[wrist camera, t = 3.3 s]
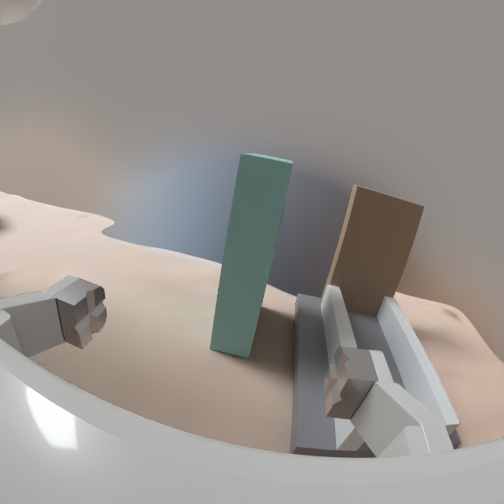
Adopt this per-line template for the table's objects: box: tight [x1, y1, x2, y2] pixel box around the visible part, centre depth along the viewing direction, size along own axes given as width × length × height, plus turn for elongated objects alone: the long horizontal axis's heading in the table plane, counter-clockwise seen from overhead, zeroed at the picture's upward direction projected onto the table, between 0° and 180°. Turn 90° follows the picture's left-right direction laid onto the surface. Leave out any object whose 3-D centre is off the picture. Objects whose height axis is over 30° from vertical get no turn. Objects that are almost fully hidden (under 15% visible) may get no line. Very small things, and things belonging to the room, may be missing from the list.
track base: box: [290, 184, 461, 458], centre depth 18 cm, size 12×18×13 cm, turn 172°
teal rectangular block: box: [210, 154, 293, 358], centre depth 22 cm, size 3×8×14 cm, turn 172°
